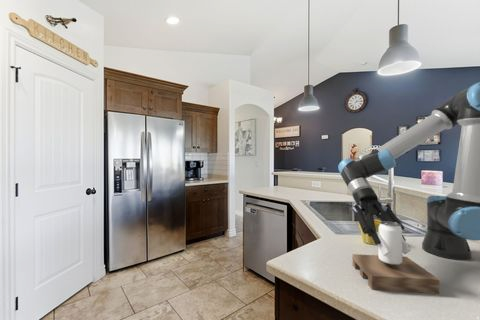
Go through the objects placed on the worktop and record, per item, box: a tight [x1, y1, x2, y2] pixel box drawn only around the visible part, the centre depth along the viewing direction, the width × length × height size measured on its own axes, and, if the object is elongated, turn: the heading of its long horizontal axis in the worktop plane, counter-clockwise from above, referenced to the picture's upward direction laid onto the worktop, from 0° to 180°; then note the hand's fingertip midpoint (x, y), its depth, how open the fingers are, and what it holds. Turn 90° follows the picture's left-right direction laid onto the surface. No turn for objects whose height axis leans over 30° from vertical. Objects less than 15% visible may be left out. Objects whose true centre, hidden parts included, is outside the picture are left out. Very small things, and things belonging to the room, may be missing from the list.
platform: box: [352, 253, 441, 294], centre depth 76 cm, size 18×16×4 cm
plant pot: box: [358, 219, 381, 246], centre depth 108 cm, size 10×10×10 cm
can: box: [377, 220, 403, 265], centre depth 76 cm, size 6×6×12 cm
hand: (396, 252), depth 73 cm, fingers closed on can, 6 cm apart
